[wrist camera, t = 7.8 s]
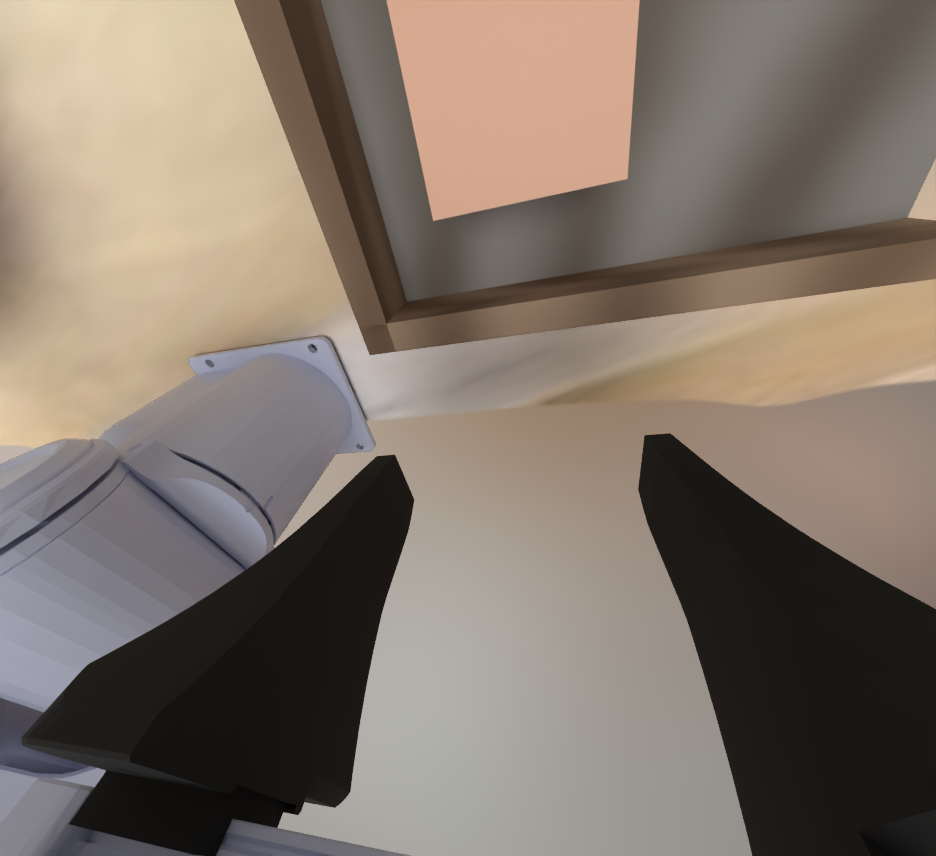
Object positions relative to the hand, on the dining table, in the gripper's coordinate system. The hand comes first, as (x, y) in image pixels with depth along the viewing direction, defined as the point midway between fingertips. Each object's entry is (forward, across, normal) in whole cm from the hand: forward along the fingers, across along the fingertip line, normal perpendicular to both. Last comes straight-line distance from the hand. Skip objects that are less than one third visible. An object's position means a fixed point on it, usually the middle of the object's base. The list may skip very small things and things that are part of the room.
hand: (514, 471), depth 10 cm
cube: (+8, -1, -9) cm, 12 cm away
